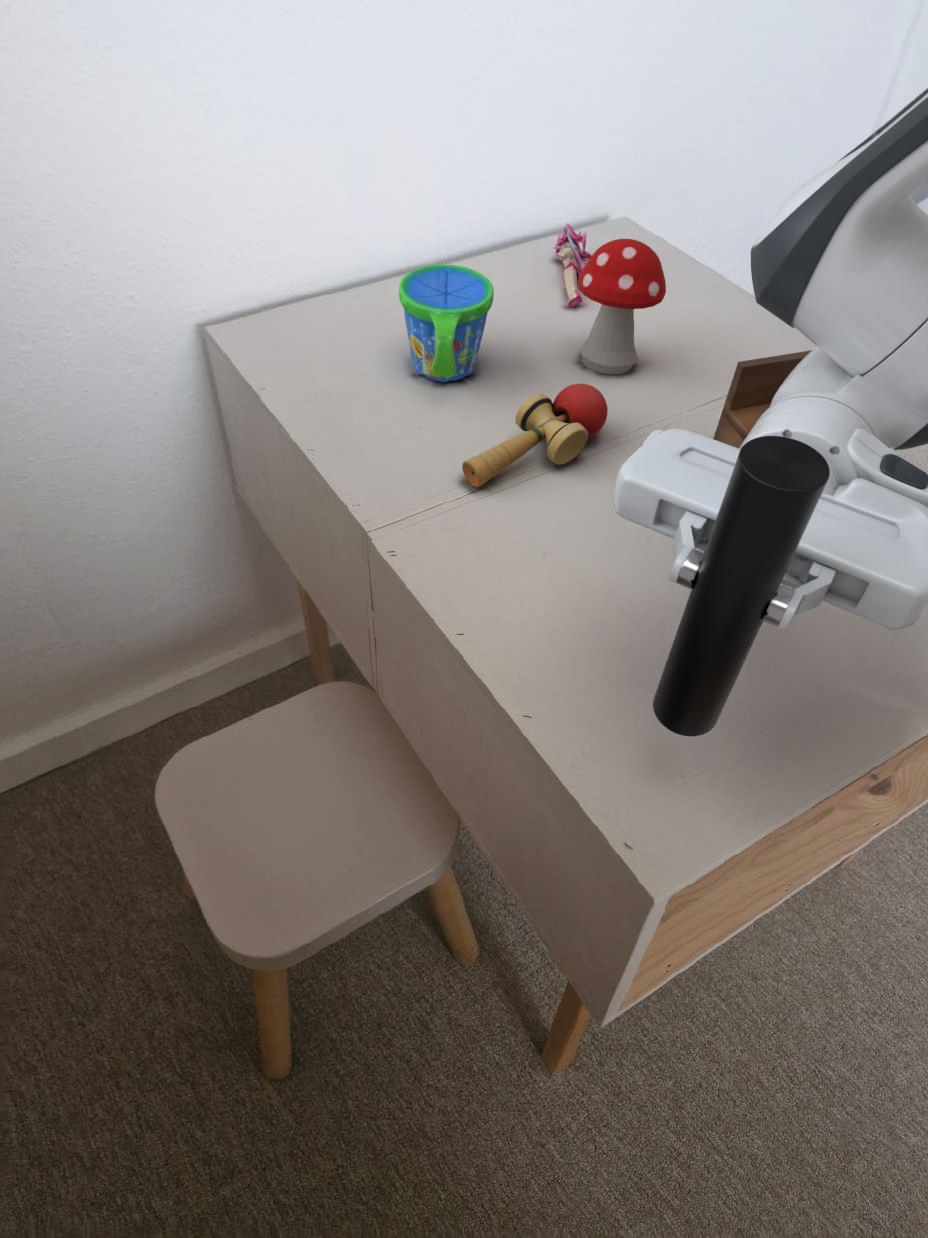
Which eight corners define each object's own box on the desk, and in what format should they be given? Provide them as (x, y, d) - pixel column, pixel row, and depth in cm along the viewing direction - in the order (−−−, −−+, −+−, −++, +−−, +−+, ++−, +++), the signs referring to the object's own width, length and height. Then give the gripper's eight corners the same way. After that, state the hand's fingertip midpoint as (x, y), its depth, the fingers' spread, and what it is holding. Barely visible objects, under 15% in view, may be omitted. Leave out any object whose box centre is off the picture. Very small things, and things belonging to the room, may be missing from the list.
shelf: (857, 512, 87) (909, 414, 78) (765, 532, 84) (807, 433, 75) (792, 443, 94) (832, 346, 85) (706, 459, 92) (737, 361, 83)
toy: (581, 326, 114) (562, 266, 123) (619, 303, 112) (597, 244, 121) (556, 285, 109) (538, 226, 118) (596, 261, 107) (574, 202, 116)
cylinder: (726, 701, 61) (840, 454, 44) (704, 747, 58) (817, 503, 41) (666, 674, 62) (755, 425, 46) (642, 718, 59) (727, 470, 43)
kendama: (501, 518, 86) (627, 435, 92) (491, 467, 81) (624, 383, 87) (455, 488, 91) (577, 411, 97) (443, 439, 86) (572, 361, 92)
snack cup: (481, 409, 96) (487, 327, 88) (389, 400, 96) (387, 317, 89) (493, 337, 106) (499, 257, 99) (410, 328, 107) (410, 249, 99)
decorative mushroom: (560, 375, 101) (579, 251, 90) (572, 338, 107) (590, 218, 95) (643, 389, 100) (673, 266, 89) (650, 351, 105) (679, 231, 94)
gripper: (668, 385, 59) (579, 492, 51) (974, 493, 52) (927, 635, 44) (650, 458, 64) (566, 566, 56) (928, 565, 57) (878, 705, 49)
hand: (729, 598), depth 50 cm, fingers closed on cylinder, 4 cm apart
